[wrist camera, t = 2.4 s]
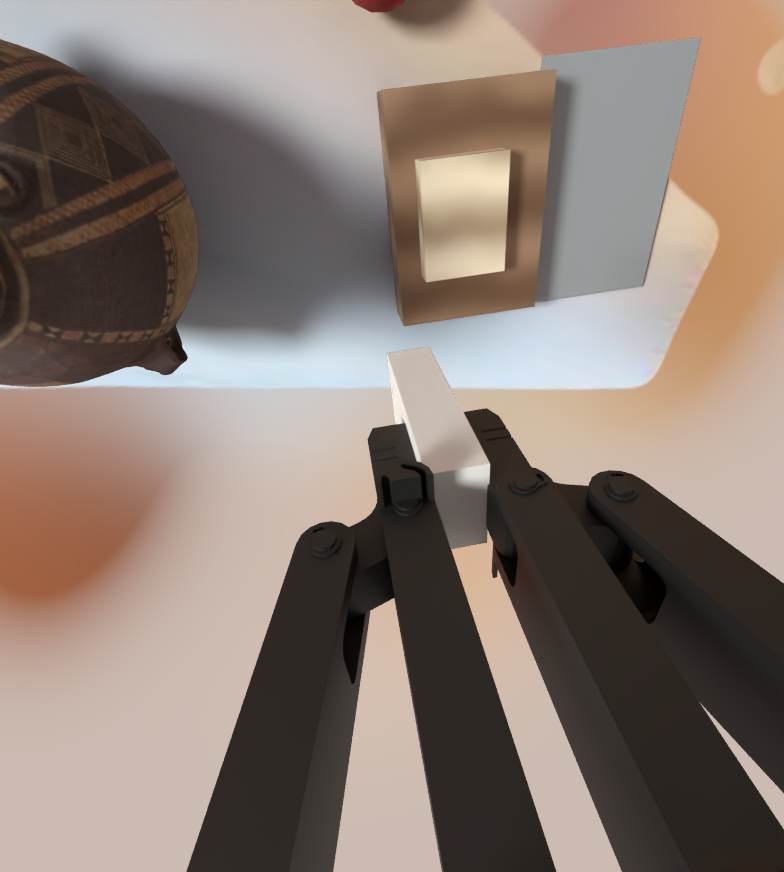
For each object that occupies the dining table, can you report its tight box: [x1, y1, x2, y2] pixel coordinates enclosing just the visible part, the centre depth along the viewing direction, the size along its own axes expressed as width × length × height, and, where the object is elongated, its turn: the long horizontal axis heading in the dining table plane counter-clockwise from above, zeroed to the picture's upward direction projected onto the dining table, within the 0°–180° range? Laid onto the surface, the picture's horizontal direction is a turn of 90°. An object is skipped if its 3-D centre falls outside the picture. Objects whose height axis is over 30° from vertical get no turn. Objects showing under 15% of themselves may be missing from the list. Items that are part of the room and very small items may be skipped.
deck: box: [377, 69, 557, 326], centre depth 39 cm, size 18×13×4 cm
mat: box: [535, 37, 701, 302], centre depth 41 cm, size 20×13×1 cm, turn 6°
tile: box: [415, 148, 511, 282], centre depth 37 cm, size 9×7×2 cm
